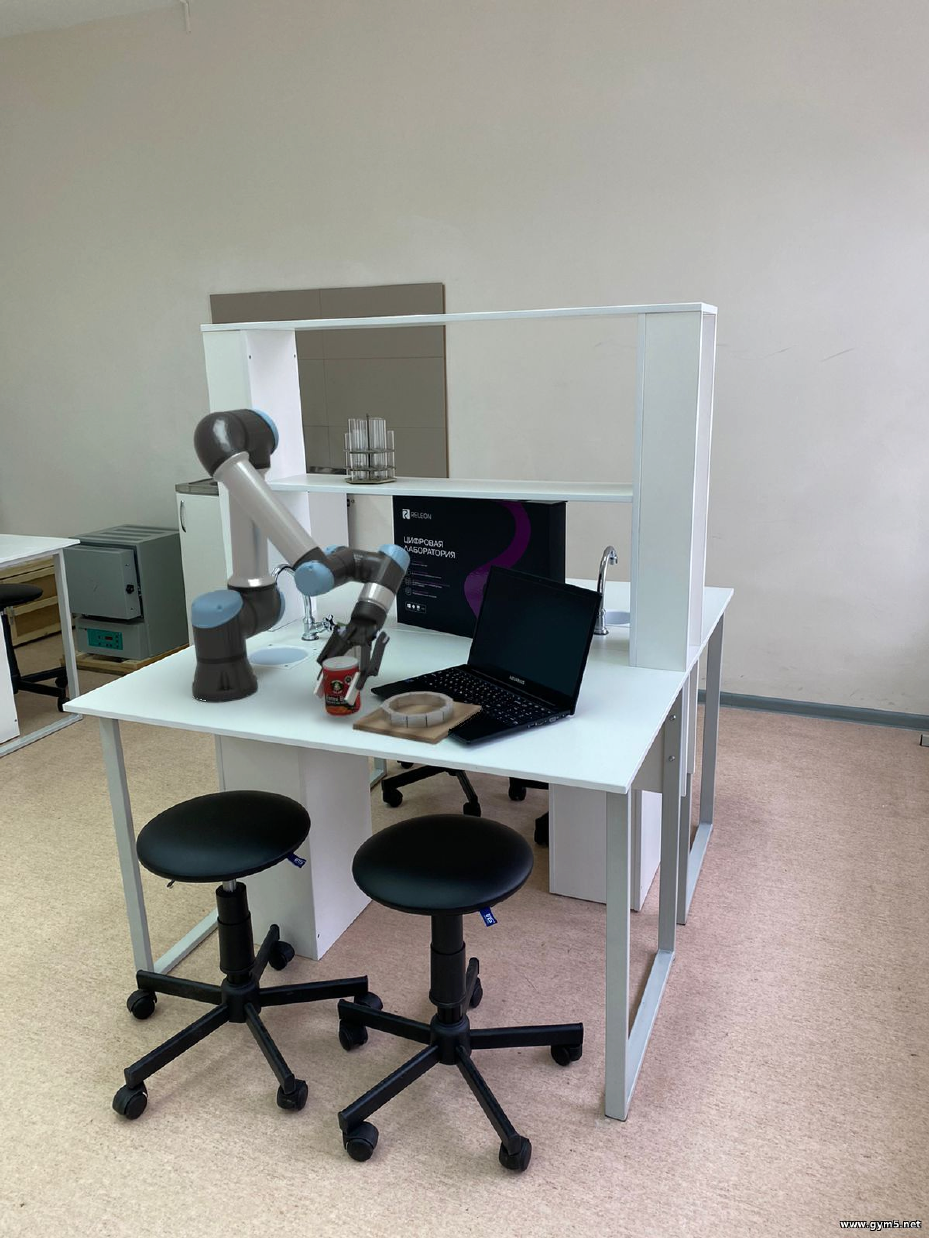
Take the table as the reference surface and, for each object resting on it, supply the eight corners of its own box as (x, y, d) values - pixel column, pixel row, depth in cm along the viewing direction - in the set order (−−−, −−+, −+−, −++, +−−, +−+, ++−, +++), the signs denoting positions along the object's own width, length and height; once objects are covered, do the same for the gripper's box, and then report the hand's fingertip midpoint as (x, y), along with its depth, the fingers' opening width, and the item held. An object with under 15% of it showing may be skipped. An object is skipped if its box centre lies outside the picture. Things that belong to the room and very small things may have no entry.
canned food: (321, 716, 202) (317, 667, 199) (331, 702, 210) (328, 655, 207) (356, 717, 201) (353, 668, 198) (364, 703, 209) (362, 656, 206)
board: (352, 728, 199) (352, 723, 199) (404, 698, 216) (403, 693, 215) (434, 744, 190) (434, 738, 189) (481, 711, 206) (481, 706, 206)
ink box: (369, 675, 233) (365, 622, 229) (355, 679, 230) (351, 626, 227) (353, 669, 238) (349, 617, 234) (340, 672, 236) (336, 620, 232)
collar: (369, 721, 200) (368, 710, 199) (407, 698, 212) (406, 688, 212) (430, 732, 192) (429, 720, 192) (465, 708, 205) (465, 697, 204)
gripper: (418, 621, 209) (380, 714, 200) (342, 611, 219) (303, 699, 210) (404, 604, 203) (364, 698, 194) (327, 594, 213) (286, 684, 204)
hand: (332, 699), depth 202 cm, fingers closed on canned food, 8 cm apart
